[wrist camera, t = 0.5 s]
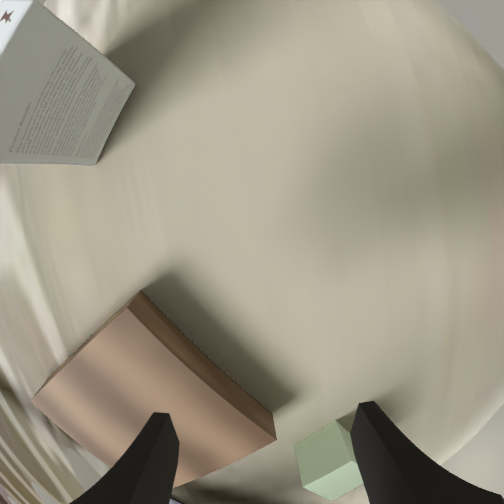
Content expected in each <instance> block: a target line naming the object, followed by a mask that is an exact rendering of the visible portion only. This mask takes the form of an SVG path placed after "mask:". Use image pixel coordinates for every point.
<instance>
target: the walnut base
mask: <svg viewBox="0 0 504 504" xmlns="http://www.w3.org/2000/svg"><path fill="white" fill-rule="evenodd" d="M31 401H32V402H33V403H34V404H35V405H36V406H37V407H38V408H39V409H40V410H41V411H42V412H43V413H44V414H45V415H46V416H47V417H48V418H50V419H51V420H52V421H53V422H54V423H55V424H56V425H57V426H59V427H60V428H61V429H62V430H63V431H64V432H65V433H67V434H68V435H69V436H70V437H71V438H73V439H74V440H75V441H76V442H78V443H79V444H80V445H81V446H83V447H84V448H85V449H87V450H88V451H89V452H90V453H92V454H93V455H94V456H96V457H97V458H99V459H100V460H101V461H103V462H104V463H106V464H107V465H108V466H110V467H111V468H112V467H113V466H114V464H115V463H116V462H117V461H118V460H119V459H120V457H121V456H122V455H123V454H124V453H125V451H126V450H127V449H128V447H129V446H130V445H131V444H132V442H133V441H134V440H135V438H136V437H137V435H138V434H139V433H140V431H141V430H142V428H143V427H144V425H145V424H146V422H147V421H148V419H149V418H150V416H151V415H152V413H154V412H161V413H169V414H170V417H171V420H172V423H173V426H174V428H175V431H176V434H177V437H178V439H179V442H180V445H179V457H178V466H177V471H176V475H175V480H174V484H173V488H175V487H177V486H180V485H182V484H185V483H188V482H190V481H193V480H195V479H197V478H200V477H202V476H204V475H207V474H209V473H211V472H214V471H216V470H218V469H220V468H222V467H225V466H227V465H229V464H231V463H233V462H235V461H237V460H239V459H241V458H243V457H245V456H247V455H249V454H251V453H253V452H255V451H257V450H259V449H261V448H263V447H265V446H266V445H268V444H270V443H272V442H274V441H275V440H277V438H276V433H275V427H274V421H273V415H272V413H270V412H269V411H268V410H267V409H266V408H264V407H263V406H262V405H261V404H260V403H258V402H257V401H256V400H255V399H254V398H252V397H251V396H250V395H249V394H248V393H247V392H245V391H244V390H243V389H242V388H241V387H240V386H239V385H237V384H236V383H235V382H234V381H233V380H232V379H231V378H229V377H228V376H227V375H226V374H225V373H224V372H223V371H222V370H221V369H219V368H218V367H217V366H216V365H215V364H214V363H213V362H212V361H211V360H210V359H209V358H208V357H207V356H205V355H204V354H203V353H202V352H201V351H200V350H199V349H198V348H197V347H196V346H195V345H194V344H193V343H192V342H191V341H190V340H189V339H188V338H187V337H186V336H185V335H184V334H183V333H182V332H181V331H180V330H179V329H178V328H177V327H176V326H175V325H174V324H173V323H172V322H171V321H170V320H169V319H168V318H167V317H166V316H165V315H164V314H163V313H162V312H161V311H160V310H159V309H158V308H157V307H156V306H155V305H154V304H153V303H152V302H151V301H150V299H149V298H148V297H147V296H146V295H145V294H144V293H143V292H142V291H141V290H140V291H139V292H138V293H137V294H136V295H135V296H134V297H133V298H131V299H130V300H129V301H128V302H127V303H126V304H125V305H124V306H123V307H122V308H121V309H120V310H119V311H117V312H116V313H115V314H114V315H113V316H112V317H111V318H110V319H109V320H108V321H107V322H106V323H105V324H104V325H103V326H102V327H100V328H99V329H98V330H97V331H96V332H95V333H94V334H93V335H92V336H91V337H90V338H89V339H88V340H87V341H86V342H85V343H84V344H83V345H82V346H81V347H80V348H79V349H78V350H77V351H76V352H75V353H74V354H73V355H71V356H70V357H69V358H68V359H67V360H66V361H65V362H64V363H63V364H62V365H61V366H60V367H59V368H58V369H57V370H56V371H55V372H54V373H53V374H52V375H51V376H50V377H49V378H48V379H47V380H46V382H45V383H44V384H43V385H42V387H41V388H40V389H39V390H38V392H37V393H36V394H35V395H34V397H33V398H32V399H31Z"/></svg>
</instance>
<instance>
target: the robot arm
mask: <svg viewBox="0 0 504 504" xmlns="http://www.w3.org/2000/svg"><path fill="white" fill-rule="evenodd" d="M350 435H351V441H352V446H353V451H354V456H355V459H356V462H357V465H358V468H359V471H360V474H361V477H362V480H363V483H364V486H365V489H366V492H367V495H368V498H369V502H370V504H504V499H503V498H502V496H501V495H499V494H496V493H493V492H490V491H487V490H484V489H482V488H479V487H477V486H474V485H472V484H470V483H468V482H466V481H464V480H462V479H461V478H459V477H457V476H455V475H454V474H452V473H450V472H449V471H447V470H446V469H444V468H442V467H441V466H440V465H438V464H437V463H436V462H434V461H433V460H432V459H430V458H429V457H428V456H427V455H426V454H424V453H423V452H422V451H421V450H420V449H419V448H418V447H416V446H415V445H414V444H413V443H412V442H411V441H410V440H409V439H408V438H407V437H406V436H405V435H404V434H403V433H402V432H401V431H400V430H399V429H398V428H397V427H396V426H395V424H394V423H393V422H392V421H391V420H390V419H389V418H388V417H387V415H386V414H385V413H384V412H383V411H382V410H381V409H380V407H379V406H378V405H377V404H376V403H375V402H374V401H370V402H364V403H359V405H358V408H357V412H356V416H355V419H354V423H353V426H352V430H351V433H350ZM179 445H180V442H179V439H178V437H177V434H176V431H175V428H174V426H173V423H172V420H171V417H170V414H169V413H161V412H154V413H152V415H151V416H150V418H149V419H148V421H147V422H146V424H145V425H144V427H143V428H142V430H141V431H140V433H139V434H138V435H137V437H136V438H135V440H134V441H133V442H132V444H131V445H130V446H129V447H128V449H127V450H126V451H125V453H124V454H123V455H122V456H121V457H120V459H119V460H118V461H117V462H116V463H115V464H114V466H113V467H112V468H111V469H110V470H109V471H108V472H107V473H106V474H105V475H104V476H103V477H102V478H101V479H100V480H99V481H98V482H97V483H96V484H95V485H93V486H92V487H91V488H90V489H89V490H87V491H86V492H85V493H84V494H82V495H81V496H80V497H78V498H77V499H76V500H74V501H72V502H71V503H69V504H181V503H179V502H177V501H175V500H173V499H171V493H172V489H173V484H174V480H175V475H176V471H177V466H178V457H179Z"/></svg>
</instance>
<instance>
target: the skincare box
mask: <svg viewBox="0 0 504 504" xmlns="http://www.w3.org/2000/svg"><path fill="white" fill-rule="evenodd" d="M135 85H136V84H135V83H134V82H133V81H132V80H131V79H130V78H129V77H128V76H127V75H126V74H124V73H123V72H122V71H121V70H120V69H119V68H118V67H116V66H115V65H114V64H113V63H112V62H111V61H110V60H109V59H107V58H106V57H105V56H104V55H103V54H102V53H100V52H99V51H98V50H97V49H96V48H95V47H93V46H92V45H91V44H90V43H89V42H87V41H86V40H85V39H84V38H83V37H81V36H80V35H79V34H78V33H77V32H75V31H74V30H73V29H72V28H71V27H69V26H68V25H67V24H65V23H64V22H63V21H62V20H60V19H59V18H58V17H56V16H55V15H54V14H53V13H52V12H51V11H50V10H48V9H47V8H46V7H45V6H44V5H42V4H41V3H40V2H39V1H38V0H0V164H2V165H6V164H48V165H81V166H94V165H96V163H97V160H98V158H99V156H100V154H101V151H102V149H103V147H104V145H105V143H106V141H107V138H108V136H109V134H110V132H111V130H112V128H113V126H114V124H115V122H116V120H117V118H118V116H119V114H120V112H121V110H122V109H123V107H124V105H125V103H126V101H127V99H128V97H129V96H130V94H131V92H132V90H133V89H134V87H135Z"/></svg>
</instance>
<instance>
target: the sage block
mask: <svg viewBox="0 0 504 504" xmlns="http://www.w3.org/2000/svg"><path fill="white" fill-rule="evenodd" d="M294 451H295V455H296V460H297V464H298V469H299V473H300V477H301V482H302V486H303V487H304V488H306V489H307V490H309V491H311V492H313V493H315V494H317V495H319V496H321V497H323V498H325V499H327V500H329V501H331V500H333V499H335V498H337V497H339V496H341V495H343V494H345V493H347V492H349V491H351V490H353V489H355V488H356V487H358V486H360V485H362V484H364V483H363V480H362V477H361V474H360V471H359V468H358V465H357V462H356V459H355V456H354V451H353V446H352V441H351V435H350V432H348V431H347V430H346V429H345V428H344V427H343V426H342V425H340V424H339V423H338V422H337V421H336V420H335V421H333V422H332V423H330V424H329V425H327V426H326V427H324V428H322V429H321V430H319V431H318V432H316V433H314V434H313V435H311V436H309V437H308V438H306V439H304V440H303V441H301V442H299V443H297V444H296V445H294Z"/></svg>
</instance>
